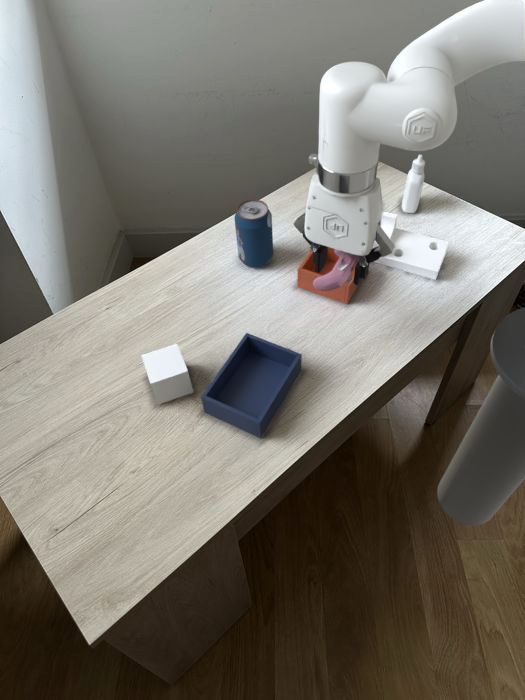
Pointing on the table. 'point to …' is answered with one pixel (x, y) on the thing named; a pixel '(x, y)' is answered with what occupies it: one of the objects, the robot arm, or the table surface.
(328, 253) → the terracotta bin
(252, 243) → the soda can
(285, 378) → the navy bin
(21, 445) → the table surface
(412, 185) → the eye dropper bottle
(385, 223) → the bracket
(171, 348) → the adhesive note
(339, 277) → the video game controller
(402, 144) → the robot arm
